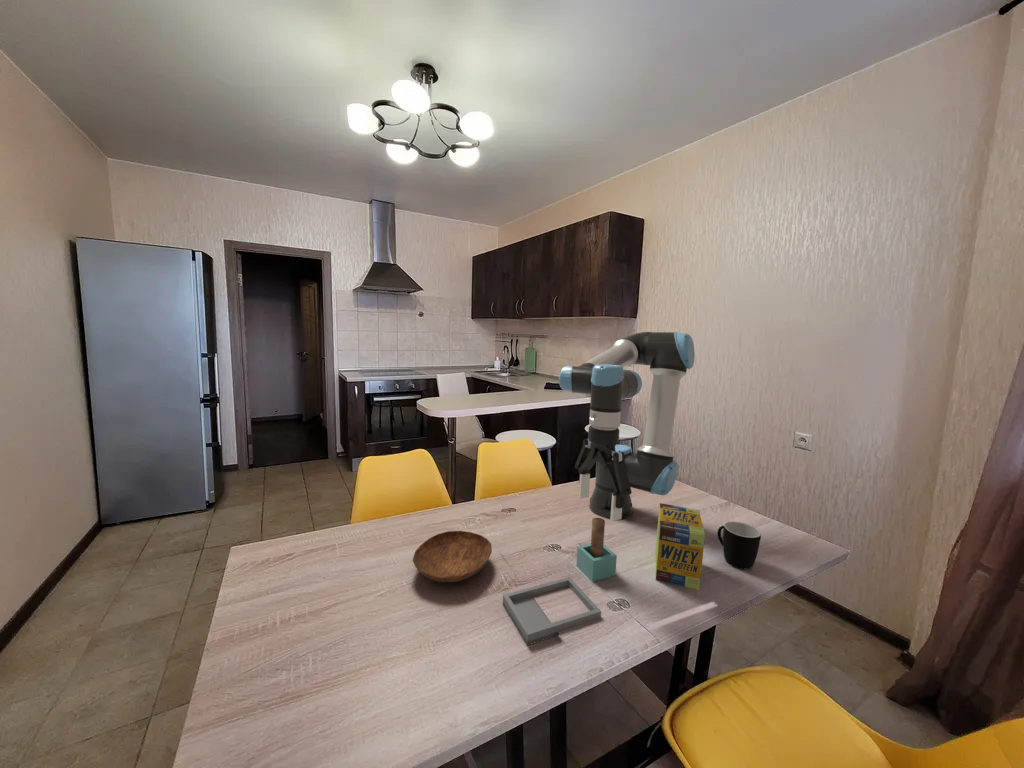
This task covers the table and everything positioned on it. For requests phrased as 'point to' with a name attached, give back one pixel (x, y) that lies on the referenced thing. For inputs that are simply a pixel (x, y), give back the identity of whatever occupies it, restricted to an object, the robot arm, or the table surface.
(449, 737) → the table surface
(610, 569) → the teal square container
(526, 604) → the tray
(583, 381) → the robot arm
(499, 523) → the table surface
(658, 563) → the protein box
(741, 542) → the mug
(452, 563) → the bowl
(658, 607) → the table surface
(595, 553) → the dowel
